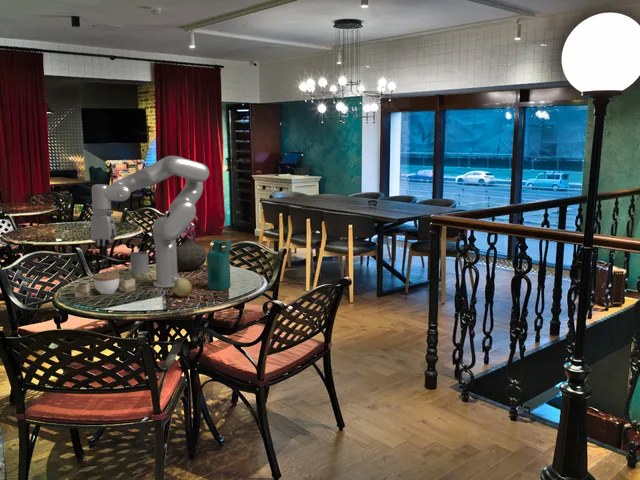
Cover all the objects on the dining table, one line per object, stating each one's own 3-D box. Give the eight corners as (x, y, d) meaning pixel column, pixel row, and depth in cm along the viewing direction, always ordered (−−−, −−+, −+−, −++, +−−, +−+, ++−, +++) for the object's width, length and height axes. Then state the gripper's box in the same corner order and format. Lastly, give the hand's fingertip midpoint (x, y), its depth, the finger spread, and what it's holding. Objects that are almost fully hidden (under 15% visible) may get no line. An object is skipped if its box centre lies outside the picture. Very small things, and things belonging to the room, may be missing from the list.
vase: (175, 274, 293) (173, 215, 288) (171, 267, 309) (169, 211, 305) (209, 271, 299) (207, 213, 294) (203, 265, 315) (201, 210, 310)
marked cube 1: (91, 294, 255) (90, 282, 254) (87, 297, 250) (86, 285, 249) (80, 294, 255) (79, 282, 254) (75, 297, 250) (74, 285, 249)
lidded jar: (96, 296, 250) (94, 275, 249) (93, 291, 259) (91, 270, 258) (122, 293, 255) (120, 272, 253) (118, 288, 264) (117, 268, 263)
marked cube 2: (135, 290, 262) (134, 278, 261) (126, 292, 258) (125, 280, 257) (128, 288, 265) (128, 277, 264) (119, 290, 261) (118, 279, 260)
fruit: (175, 294, 253) (175, 276, 252) (194, 294, 253) (194, 276, 252) (171, 299, 246) (170, 280, 244) (190, 299, 246) (189, 280, 244)
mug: (146, 274, 294) (145, 254, 292) (129, 274, 294) (128, 254, 292) (152, 269, 306) (151, 250, 304) (136, 269, 306) (135, 250, 304)
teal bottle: (206, 289, 262) (204, 241, 258) (215, 285, 270) (214, 238, 266) (225, 291, 258) (224, 242, 255) (234, 287, 266) (233, 239, 263)
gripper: (122, 213, 253) (123, 254, 256) (92, 211, 257) (94, 252, 260) (111, 214, 246) (113, 257, 249) (81, 213, 250) (83, 255, 253)
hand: (103, 254), depth 254 cm, fingers closed
